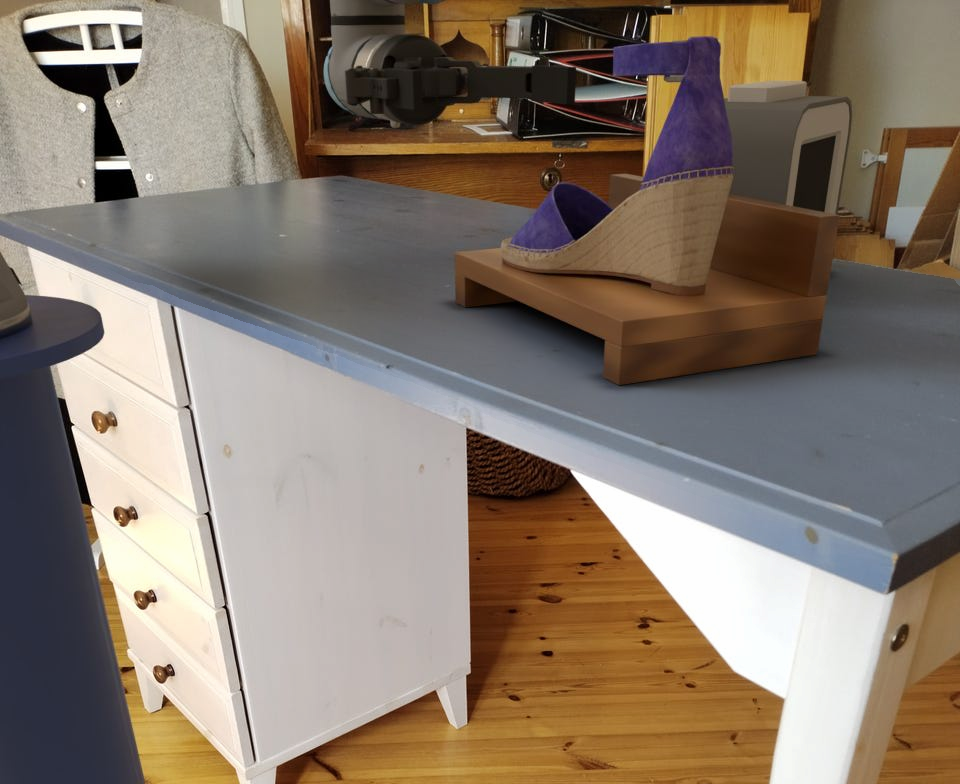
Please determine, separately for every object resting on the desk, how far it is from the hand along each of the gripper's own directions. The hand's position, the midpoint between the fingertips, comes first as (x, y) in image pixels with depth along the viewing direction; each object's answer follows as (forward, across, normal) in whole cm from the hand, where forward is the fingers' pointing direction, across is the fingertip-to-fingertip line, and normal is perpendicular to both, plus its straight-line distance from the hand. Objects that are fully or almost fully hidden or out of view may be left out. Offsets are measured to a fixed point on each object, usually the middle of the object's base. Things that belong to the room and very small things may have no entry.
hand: (497, 88), depth 81 cm
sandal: (+17, -1, -12) cm, 20 cm away
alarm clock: (+7, -21, -16) cm, 27 cm away
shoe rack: (+16, -3, -16) cm, 23 cm away
